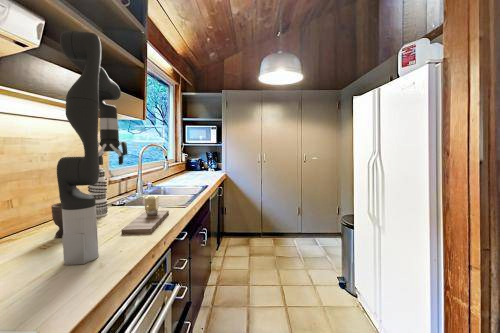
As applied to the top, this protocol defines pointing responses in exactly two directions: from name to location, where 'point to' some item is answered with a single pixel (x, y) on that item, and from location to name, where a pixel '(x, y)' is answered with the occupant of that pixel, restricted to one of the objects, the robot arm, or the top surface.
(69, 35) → the robot arm
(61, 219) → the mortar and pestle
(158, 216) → the hinge base
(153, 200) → the tan block
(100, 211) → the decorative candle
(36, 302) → the top surface
